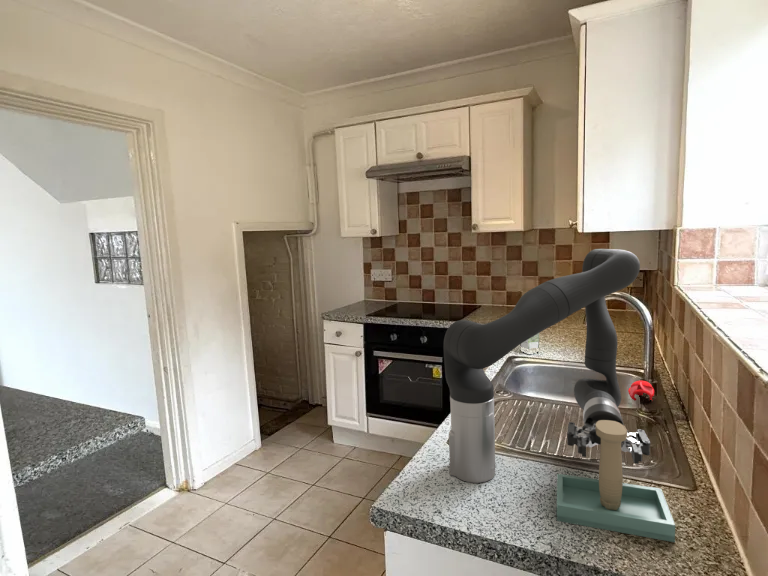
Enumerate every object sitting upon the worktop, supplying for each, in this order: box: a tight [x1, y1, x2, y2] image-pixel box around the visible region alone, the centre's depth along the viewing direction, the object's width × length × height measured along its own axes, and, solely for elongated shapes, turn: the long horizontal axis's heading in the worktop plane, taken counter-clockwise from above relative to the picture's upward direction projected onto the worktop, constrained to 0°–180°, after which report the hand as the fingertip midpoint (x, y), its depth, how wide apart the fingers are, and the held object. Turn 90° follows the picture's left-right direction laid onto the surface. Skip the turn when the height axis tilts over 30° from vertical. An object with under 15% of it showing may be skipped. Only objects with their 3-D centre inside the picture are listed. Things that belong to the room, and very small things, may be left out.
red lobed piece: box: [628, 380, 655, 402], centre depth 131 cm, size 8×6×6 cm
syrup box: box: [519, 333, 540, 349], centre depth 187 cm, size 6×6×14 cm
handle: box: [596, 420, 628, 510], centre depth 80 cm, size 5×6×15 cm
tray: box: [556, 473, 676, 543], centre depth 80 cm, size 18×11×3 cm, turn 68°
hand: (609, 455), depth 80 cm, fingers open, 8 cm apart
